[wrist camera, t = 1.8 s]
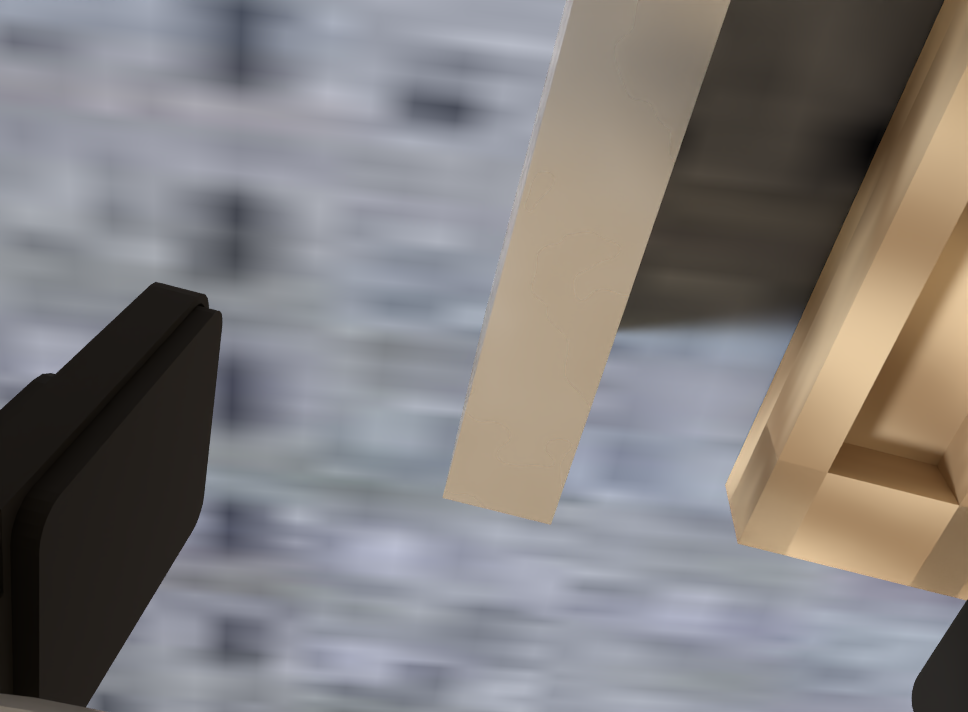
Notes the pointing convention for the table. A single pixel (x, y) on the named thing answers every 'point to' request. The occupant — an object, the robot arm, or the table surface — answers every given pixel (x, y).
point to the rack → (880, 362)
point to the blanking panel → (576, 241)
